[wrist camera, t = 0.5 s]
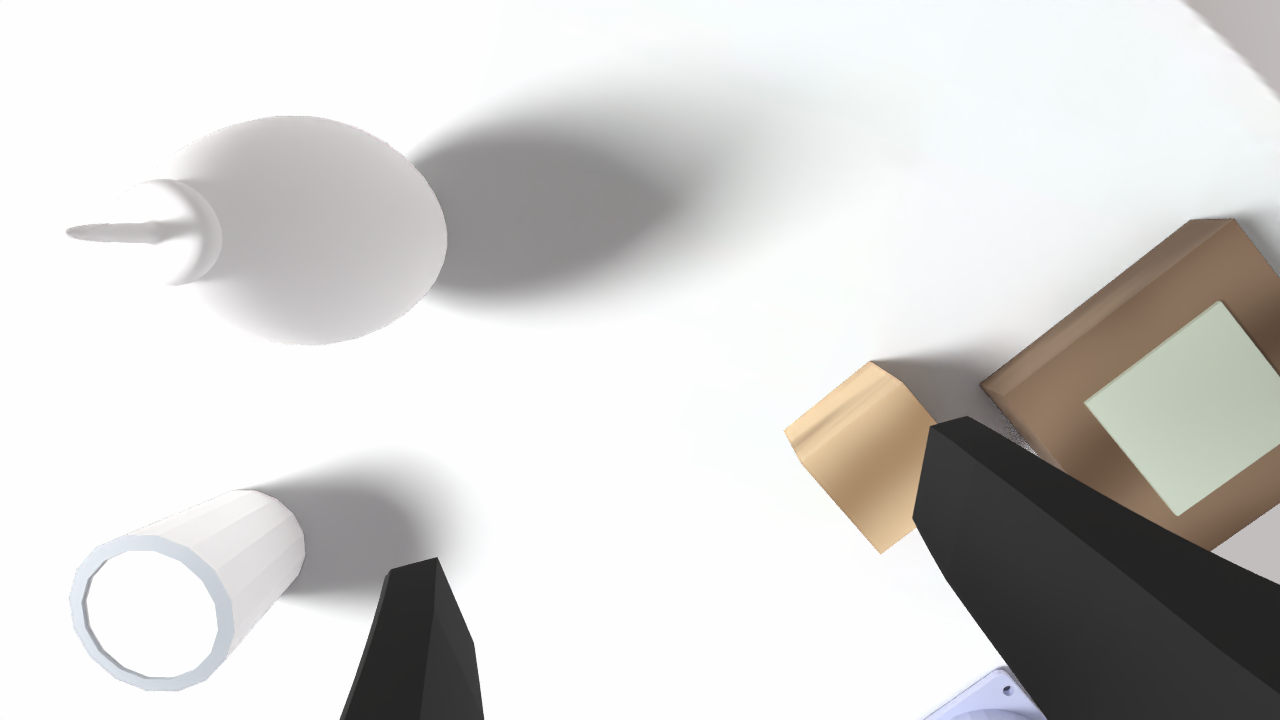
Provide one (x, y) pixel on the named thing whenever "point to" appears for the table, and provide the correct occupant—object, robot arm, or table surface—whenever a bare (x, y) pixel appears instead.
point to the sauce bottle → (284, 230)
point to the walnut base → (1164, 386)
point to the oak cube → (867, 451)
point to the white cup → (185, 589)
